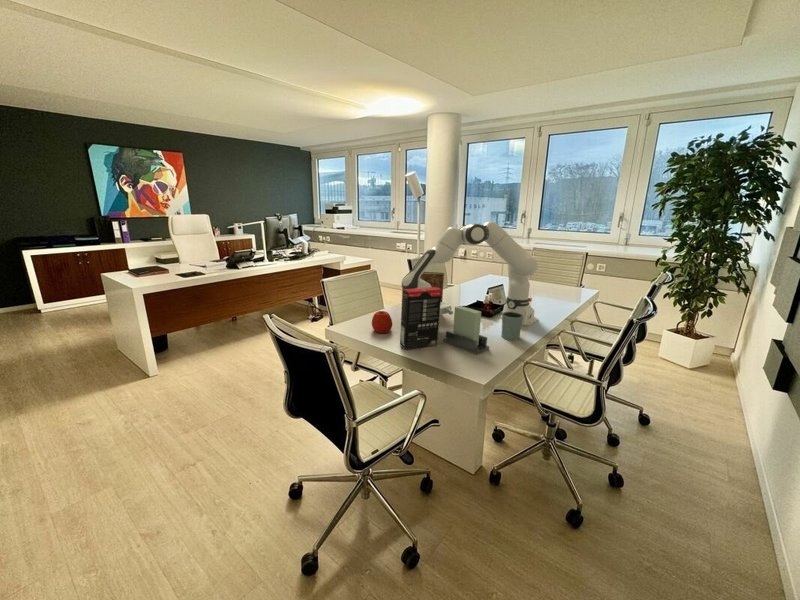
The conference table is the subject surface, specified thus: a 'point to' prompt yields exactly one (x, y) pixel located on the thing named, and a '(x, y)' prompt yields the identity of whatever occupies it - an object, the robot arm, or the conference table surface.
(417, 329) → the graphics card box
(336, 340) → the conference table surface
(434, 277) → the book
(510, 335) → the green embossed cup
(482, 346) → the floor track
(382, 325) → the apple
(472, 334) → the green upright rectangular block
